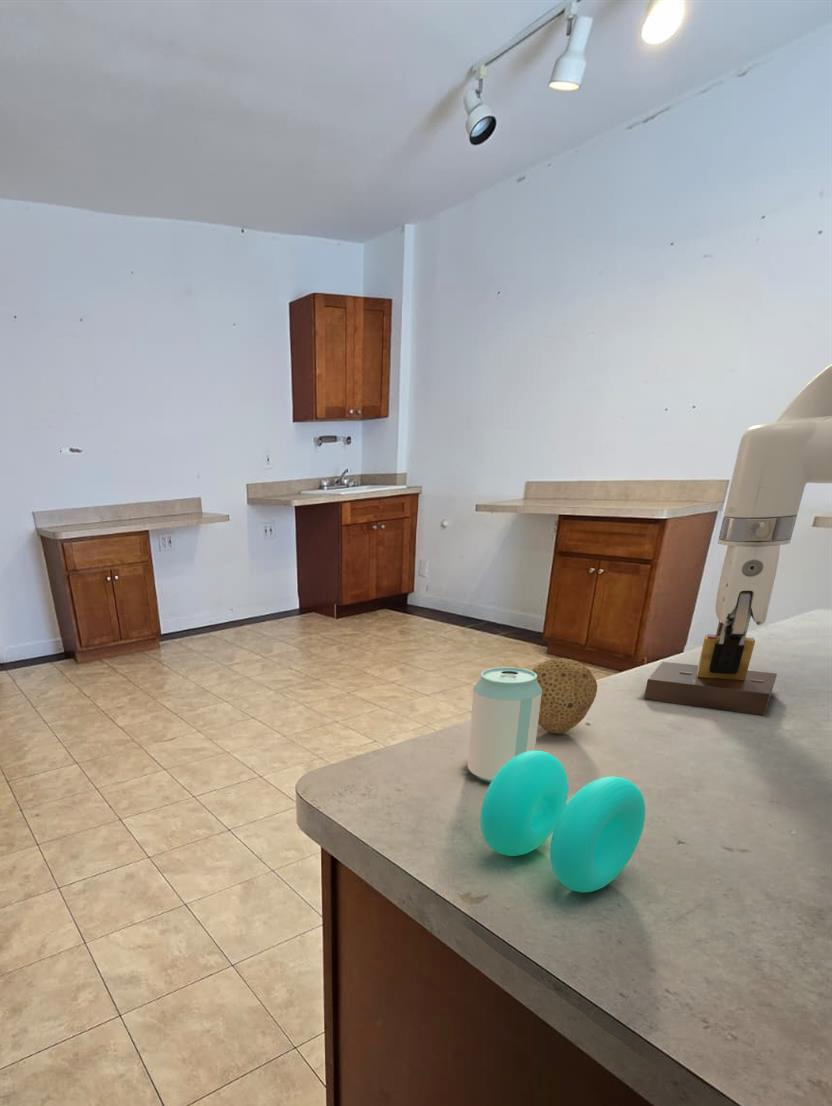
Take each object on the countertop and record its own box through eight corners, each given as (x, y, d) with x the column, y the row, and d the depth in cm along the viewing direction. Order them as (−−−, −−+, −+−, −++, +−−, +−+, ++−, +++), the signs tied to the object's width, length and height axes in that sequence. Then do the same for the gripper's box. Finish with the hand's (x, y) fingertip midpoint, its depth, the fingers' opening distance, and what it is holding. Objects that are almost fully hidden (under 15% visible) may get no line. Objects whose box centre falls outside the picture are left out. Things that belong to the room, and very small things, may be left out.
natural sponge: (522, 746, 80) (531, 670, 76) (506, 721, 88) (513, 651, 84) (599, 745, 79) (612, 667, 75) (575, 719, 87) (586, 648, 83)
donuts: (538, 827, 63) (550, 733, 59) (640, 872, 55) (662, 768, 51) (469, 862, 58) (477, 764, 54) (569, 917, 51) (588, 807, 46)
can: (456, 765, 77) (462, 669, 72) (509, 757, 78) (519, 661, 73) (487, 790, 70) (496, 687, 65) (544, 781, 72) (558, 678, 67)
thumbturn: (743, 676, 89) (754, 635, 86) (745, 680, 87) (755, 639, 85) (696, 673, 91) (705, 633, 89) (697, 677, 90) (706, 637, 88)
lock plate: (771, 693, 90) (777, 672, 89) (764, 715, 84) (770, 692, 82) (658, 680, 99) (662, 660, 98) (643, 699, 92) (647, 678, 91)
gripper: (804, 537, 73) (762, 689, 81) (782, 523, 86) (748, 657, 93) (725, 539, 77) (692, 684, 85) (715, 525, 89) (687, 653, 97)
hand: (722, 669), depth 89 cm, fingers closed on thumbturn, 2 cm apart
